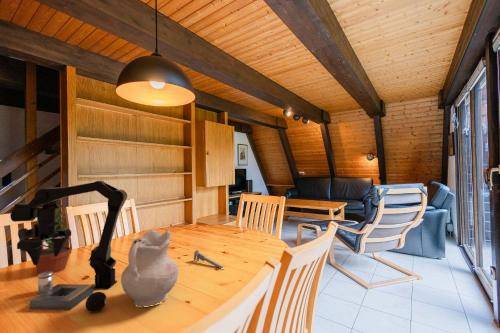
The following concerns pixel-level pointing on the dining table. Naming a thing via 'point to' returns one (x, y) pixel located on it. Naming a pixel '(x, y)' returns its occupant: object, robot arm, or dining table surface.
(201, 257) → the caliper
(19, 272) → the dining table surface
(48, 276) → the grey cylinder
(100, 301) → the billiard ball
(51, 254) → the potted plant
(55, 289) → the jig
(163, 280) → the ceramic pitcher
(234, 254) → the dining table surface
